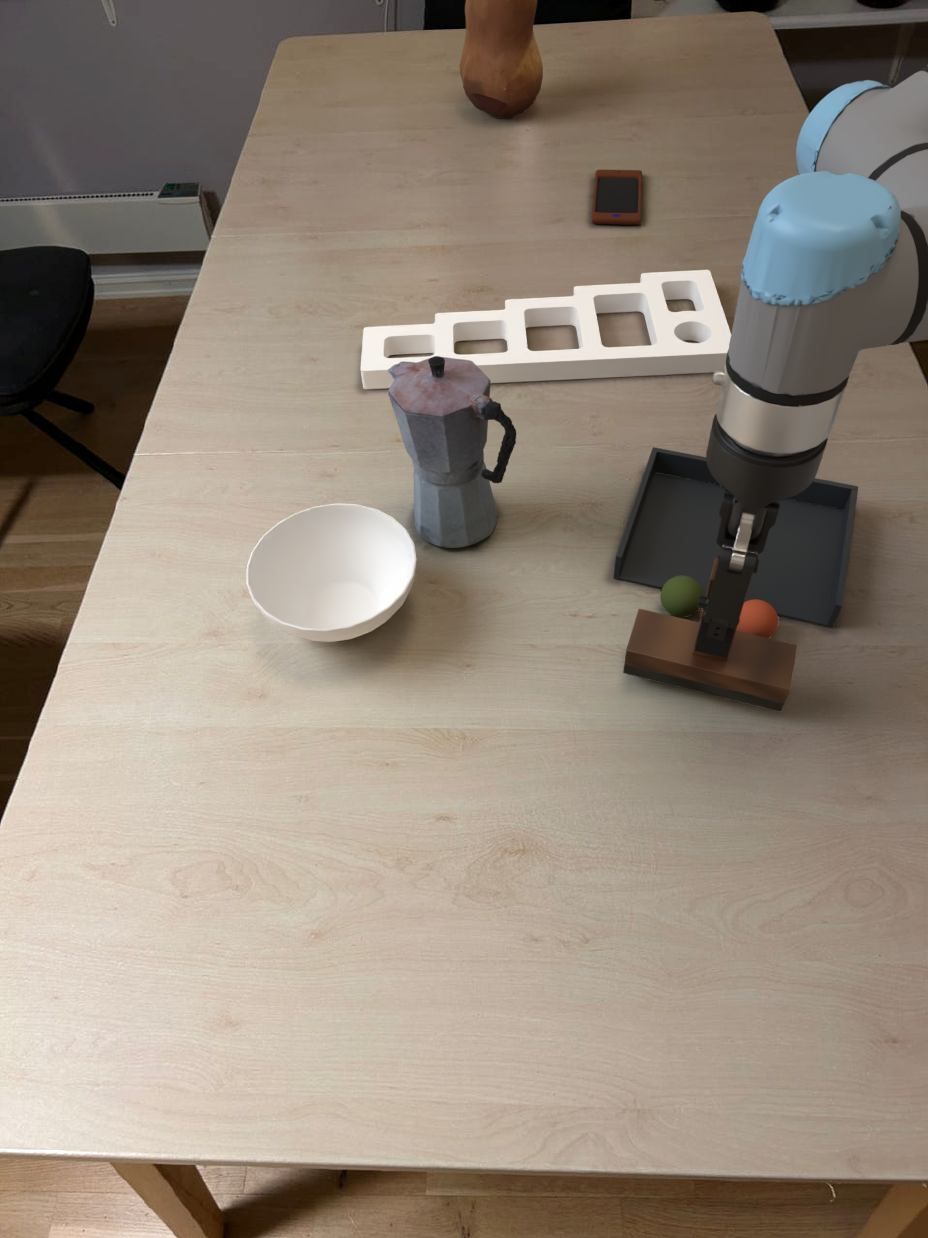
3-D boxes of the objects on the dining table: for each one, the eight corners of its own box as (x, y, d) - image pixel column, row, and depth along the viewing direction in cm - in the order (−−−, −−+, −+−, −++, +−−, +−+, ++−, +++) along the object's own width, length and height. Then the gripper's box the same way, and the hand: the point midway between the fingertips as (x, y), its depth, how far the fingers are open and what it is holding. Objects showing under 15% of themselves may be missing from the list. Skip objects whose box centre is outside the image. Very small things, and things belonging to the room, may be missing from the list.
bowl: (441, 651, 89) (436, 604, 83) (275, 695, 86) (259, 650, 81) (400, 535, 98) (393, 487, 93) (250, 572, 96) (234, 524, 91)
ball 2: (782, 599, 87) (783, 612, 84) (772, 639, 89) (771, 652, 85) (739, 590, 88) (738, 601, 85) (729, 629, 90) (727, 642, 86)
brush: (788, 667, 84) (826, 568, 73) (781, 712, 81) (819, 615, 71) (635, 631, 87) (650, 531, 77) (622, 673, 84) (637, 575, 74)
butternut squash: (548, 97, 162) (552, -76, 143) (534, 132, 154) (536, -46, 135) (470, 93, 165) (464, -77, 145) (453, 127, 157) (444, -48, 137)
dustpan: (832, 628, 88) (842, 606, 86) (613, 578, 93) (615, 556, 91) (858, 446, 104) (867, 423, 101) (668, 412, 109) (672, 389, 106)
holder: (363, 389, 114) (360, 370, 112) (369, 305, 125) (367, 287, 123) (733, 371, 113) (737, 352, 111) (706, 288, 124) (709, 269, 122)
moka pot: (428, 469, 105) (412, 312, 89) (545, 522, 99) (550, 364, 83) (375, 520, 100) (348, 364, 84) (494, 579, 94) (489, 423, 78)
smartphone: (591, 218, 134) (595, 168, 144) (591, 224, 135) (595, 174, 144) (641, 219, 134) (642, 168, 143) (640, 225, 134) (641, 174, 144)
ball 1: (707, 585, 91) (708, 576, 87) (697, 624, 90) (698, 618, 86) (666, 575, 92) (666, 567, 88) (656, 615, 91) (655, 608, 87)
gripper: (733, 346, 67) (687, 563, 86) (692, 489, 58) (652, 698, 77) (841, 363, 65) (771, 581, 84) (816, 513, 57) (744, 721, 75)
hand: (714, 636), depth 80 cm, fingers closed on brush, 2 cm apart
